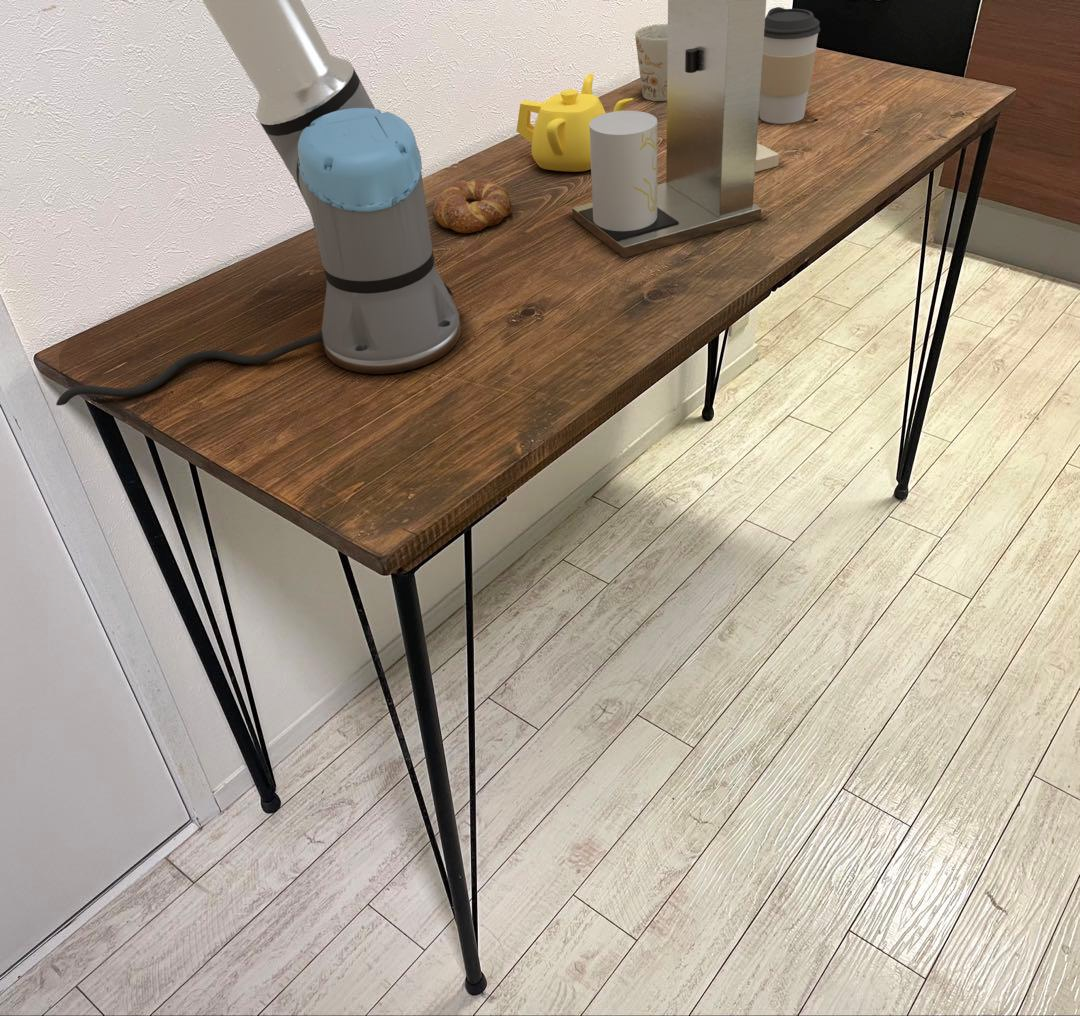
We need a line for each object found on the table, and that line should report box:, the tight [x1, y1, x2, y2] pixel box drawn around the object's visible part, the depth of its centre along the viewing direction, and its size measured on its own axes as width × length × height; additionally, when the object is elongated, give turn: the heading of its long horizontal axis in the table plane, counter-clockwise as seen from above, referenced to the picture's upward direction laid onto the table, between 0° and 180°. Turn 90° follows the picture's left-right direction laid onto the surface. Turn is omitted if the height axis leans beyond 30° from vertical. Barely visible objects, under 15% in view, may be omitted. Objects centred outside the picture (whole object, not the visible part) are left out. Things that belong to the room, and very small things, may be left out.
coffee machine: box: [571, 0, 767, 259], centre depth 123 cm, size 20×14×29 cm
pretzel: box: [432, 178, 513, 234], centre depth 136 cm, size 12×11×4 cm
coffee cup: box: [759, 6, 821, 125], centre depth 153 cm, size 9×9×15 cm
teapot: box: [516, 73, 634, 173], centre depth 147 cm, size 14×13×10 cm
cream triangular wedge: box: [755, 140, 780, 173], centre depth 144 cm, size 10×8×4 cm
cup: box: [589, 110, 658, 231], centre depth 126 cm, size 8×8×12 cm
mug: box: [634, 23, 668, 102], centre depth 166 cm, size 8×13×10 cm, turn 96°
